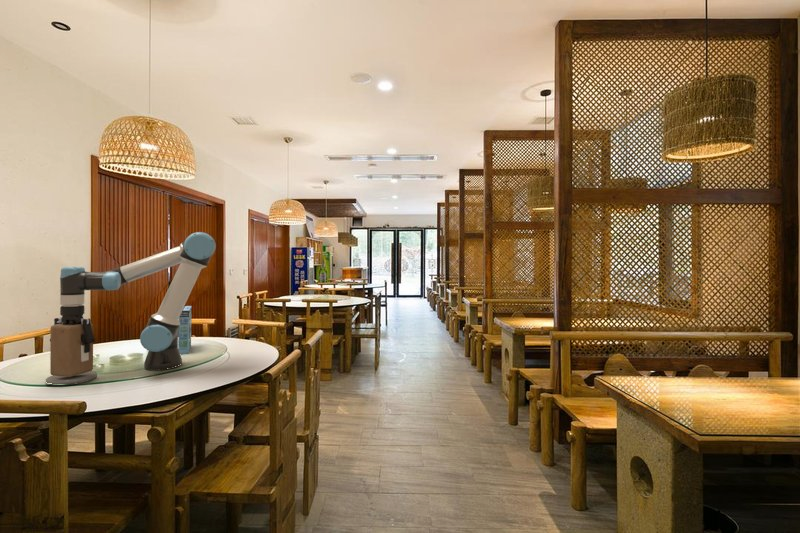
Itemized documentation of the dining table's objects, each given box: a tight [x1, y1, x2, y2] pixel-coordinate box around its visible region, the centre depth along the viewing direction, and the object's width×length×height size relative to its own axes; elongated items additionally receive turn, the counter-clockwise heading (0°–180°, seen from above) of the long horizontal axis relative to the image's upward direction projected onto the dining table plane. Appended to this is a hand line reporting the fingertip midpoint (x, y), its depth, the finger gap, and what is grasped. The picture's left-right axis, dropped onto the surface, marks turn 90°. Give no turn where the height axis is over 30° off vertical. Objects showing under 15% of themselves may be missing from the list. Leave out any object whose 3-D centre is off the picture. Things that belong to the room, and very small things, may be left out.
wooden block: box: [49, 322, 94, 377], centre depth 160 cm, size 10×10×20 cm
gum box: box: [178, 305, 193, 355], centre depth 215 cm, size 20×5×23 cm, turn 24°
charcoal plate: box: [45, 370, 98, 385], centre depth 160 cm, size 16×16×2 cm
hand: (72, 360), depth 160 cm, fingers closed on wooden block, 10 cm apart
